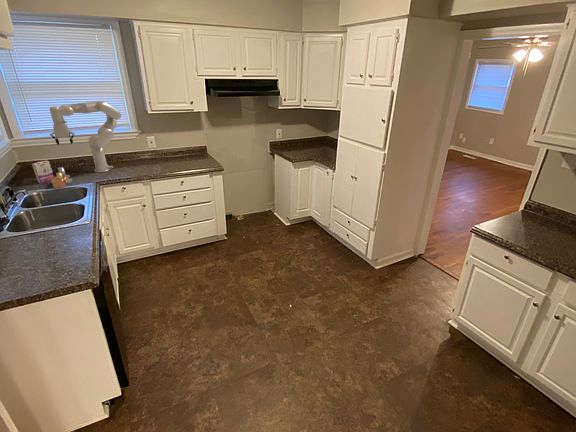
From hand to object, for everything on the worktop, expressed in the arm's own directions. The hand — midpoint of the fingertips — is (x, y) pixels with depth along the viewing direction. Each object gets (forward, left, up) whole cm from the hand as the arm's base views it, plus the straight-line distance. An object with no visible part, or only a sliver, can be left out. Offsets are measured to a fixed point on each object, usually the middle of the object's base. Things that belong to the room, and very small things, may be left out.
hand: (65, 143), depth 260 cm
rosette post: (+4, +19, -28) cm, 34 cm away
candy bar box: (+18, +9, -28) cm, 35 cm away
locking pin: (+4, +22, -28) cm, 36 cm away
